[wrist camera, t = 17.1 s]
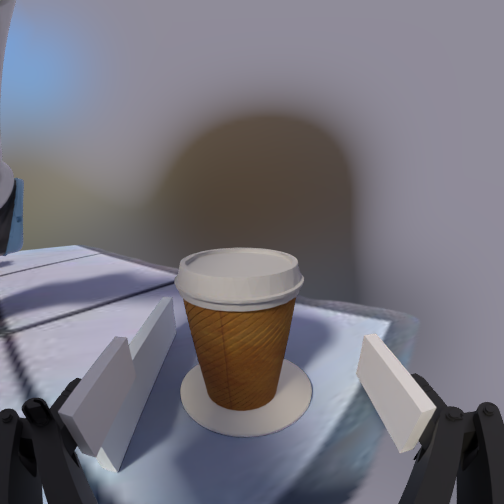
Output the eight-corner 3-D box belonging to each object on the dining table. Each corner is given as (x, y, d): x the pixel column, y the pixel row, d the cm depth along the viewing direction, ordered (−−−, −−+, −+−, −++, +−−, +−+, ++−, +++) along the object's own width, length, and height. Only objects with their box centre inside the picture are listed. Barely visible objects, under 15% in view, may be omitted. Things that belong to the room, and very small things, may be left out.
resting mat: (178, 361, 27) (177, 358, 27) (283, 348, 31) (283, 345, 30) (187, 446, 16) (186, 443, 16) (334, 416, 19) (335, 412, 19)
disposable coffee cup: (237, 349, 29) (235, 242, 27) (313, 381, 24) (326, 257, 21) (168, 388, 22) (148, 261, 20) (247, 443, 16) (245, 292, 14)
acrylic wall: (117, 473, 12) (92, 429, 11) (103, 468, 12) (76, 425, 11) (176, 332, 34) (172, 297, 33) (167, 332, 34) (163, 296, 33)
